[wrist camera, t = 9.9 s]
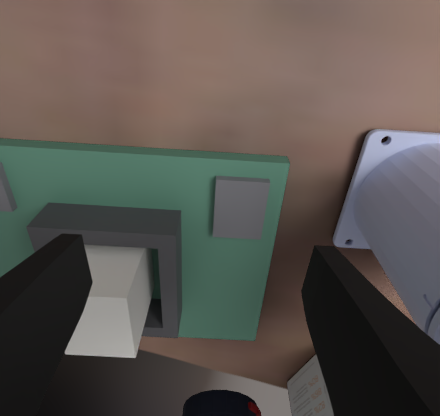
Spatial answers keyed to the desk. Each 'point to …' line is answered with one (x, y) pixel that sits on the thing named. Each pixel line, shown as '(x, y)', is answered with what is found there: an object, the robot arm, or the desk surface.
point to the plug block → (114, 302)
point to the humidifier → (220, 404)
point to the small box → (309, 391)
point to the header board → (154, 222)
